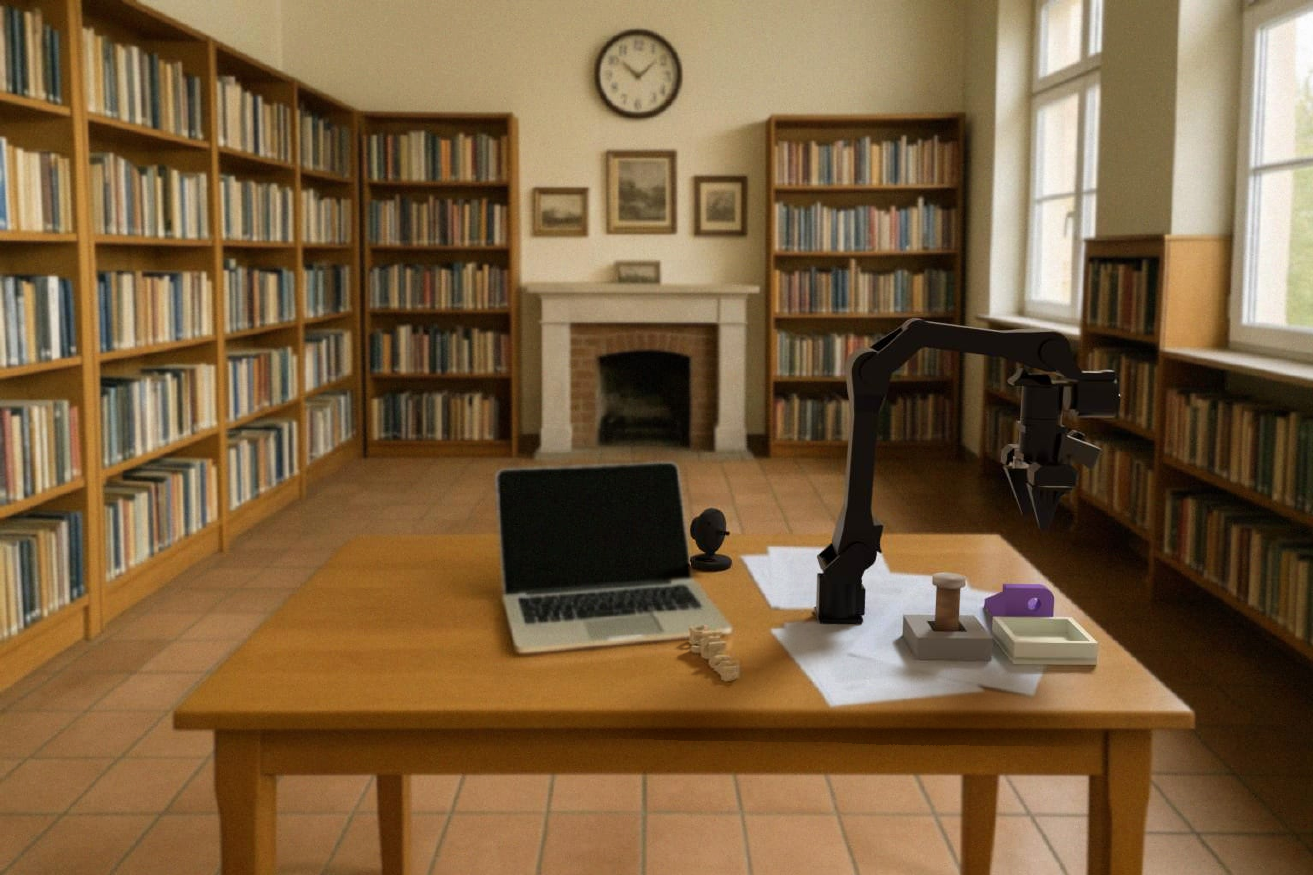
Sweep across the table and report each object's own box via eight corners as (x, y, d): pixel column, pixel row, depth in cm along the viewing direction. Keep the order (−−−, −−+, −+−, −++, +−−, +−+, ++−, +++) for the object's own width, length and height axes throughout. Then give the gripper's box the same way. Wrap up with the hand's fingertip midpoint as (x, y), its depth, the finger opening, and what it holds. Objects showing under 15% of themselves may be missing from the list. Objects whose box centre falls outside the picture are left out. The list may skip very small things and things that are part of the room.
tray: (1013, 663, 162) (1014, 642, 162) (991, 636, 173) (992, 616, 173) (1096, 664, 162) (1098, 643, 162) (1069, 637, 173) (1071, 617, 173)
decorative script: (680, 643, 171) (680, 619, 170) (706, 640, 172) (706, 616, 171) (726, 686, 155) (726, 660, 154) (753, 683, 156) (754, 657, 155)
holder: (916, 659, 164) (917, 637, 163) (902, 635, 174) (903, 614, 173) (991, 659, 164) (992, 638, 163) (973, 635, 174) (974, 615, 173)
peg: (933, 652, 167) (936, 581, 165) (926, 641, 171) (929, 572, 169) (965, 652, 167) (969, 581, 165) (957, 642, 171) (961, 572, 169)
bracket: (1052, 634, 175) (1055, 588, 174) (1003, 633, 176) (1006, 587, 175) (1029, 609, 187) (1032, 565, 186) (984, 608, 188) (986, 565, 186)
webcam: (704, 557, 215) (705, 501, 213) (740, 564, 210) (741, 507, 209) (679, 566, 209) (679, 509, 207) (716, 574, 204) (716, 515, 203)
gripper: (1120, 427, 167) (1112, 539, 170) (1076, 408, 185) (1070, 509, 188) (1038, 426, 167) (1031, 538, 170) (1002, 407, 186) (997, 508, 188)
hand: (1034, 522), depth 179 cm, fingers open, 9 cm apart
